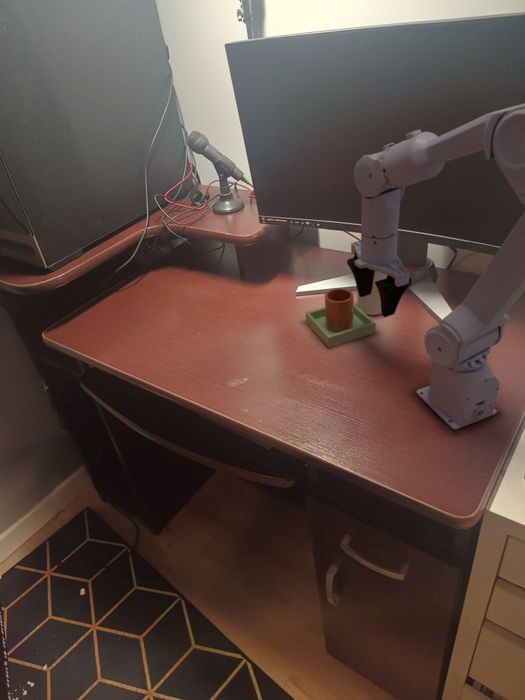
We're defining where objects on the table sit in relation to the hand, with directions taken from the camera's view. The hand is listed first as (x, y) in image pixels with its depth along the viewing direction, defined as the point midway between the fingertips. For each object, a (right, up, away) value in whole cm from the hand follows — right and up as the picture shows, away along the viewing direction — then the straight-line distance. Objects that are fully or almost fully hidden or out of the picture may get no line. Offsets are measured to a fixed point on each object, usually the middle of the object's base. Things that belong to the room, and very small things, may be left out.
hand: (376, 304), depth 81 cm
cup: (-5, -3, +12) cm, 13 cm away
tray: (-4, -4, +12) cm, 13 cm away
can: (+3, +1, +17) cm, 17 cm away
